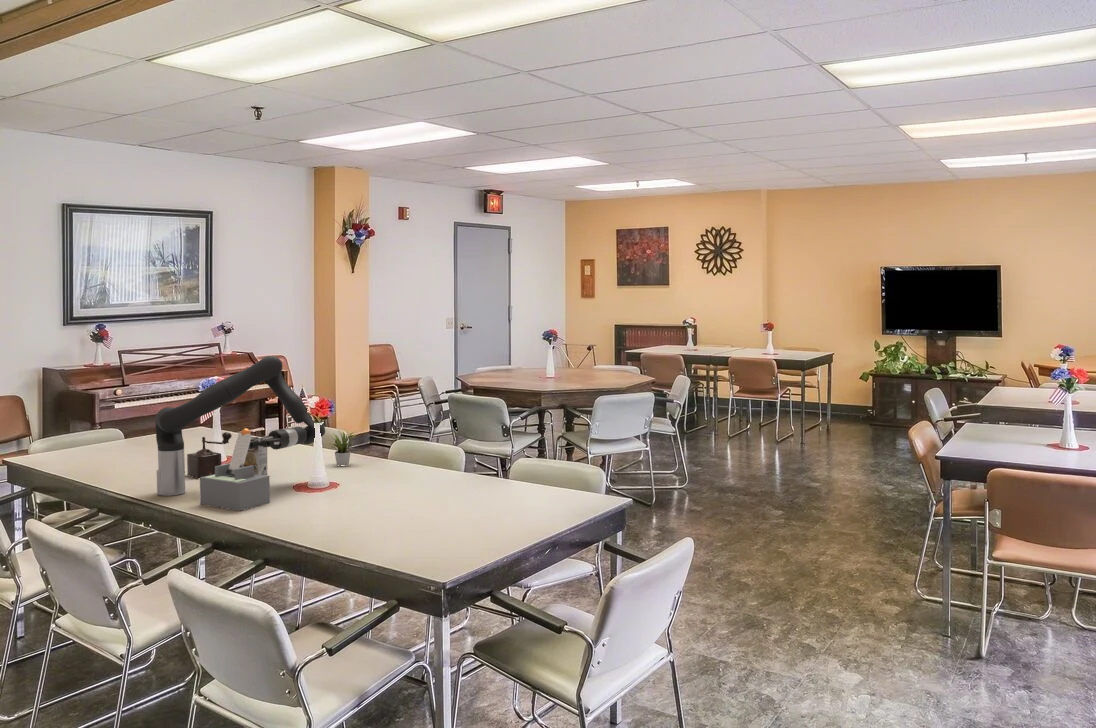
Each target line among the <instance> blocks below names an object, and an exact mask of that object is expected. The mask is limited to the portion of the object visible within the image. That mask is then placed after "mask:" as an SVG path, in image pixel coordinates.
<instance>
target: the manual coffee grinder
mask: <svg viewBox="0 0 1096 728" xmlns="http://www.w3.org/2000/svg"><path fill="white" fill-rule="evenodd" d="M221 436H222V438H223V440H222V441H221V442H220V441H208V440H206V437H205V436H202V438H201V439H202V440H201V442H202V448H201V449H200V450H198V451H196V452H193V453H188V454H186V461H187V462H186V465H187V469H186V470H187V471H186V472H187V476H188V475H190V476H193V477H192V478H194V477H197V478H196V479H198V478H201V477H205V476H209V475H214V474H215V466H219V465H222V454H221V453H220V452H216V451H212V450H211V449H208V448H206V444H214V445H215V444H216V445H227V444H229V443H230V442H229V441H230V439H231V438H232V434H231V433H230V432H228V431H227V432H226V431H225V432H222V434H221ZM190 476H189V477H190Z"/></svg>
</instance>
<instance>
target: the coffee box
mask: <svg viewBox="0 0 1096 728" xmlns="http://www.w3.org/2000/svg"><path fill="white" fill-rule="evenodd" d="M254 437H255V436H252V437H251V441H252V440H253V438H254ZM251 441H250V442H251ZM251 465H254V474H259V475H266V474H269V473H268V447H255V448H248V452H247V455H246V459H245V463H244V466H243V467H246V466H251ZM266 476H267V475H266Z"/></svg>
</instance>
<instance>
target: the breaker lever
mask: <svg viewBox="0 0 1096 728" xmlns="http://www.w3.org/2000/svg"><path fill="white" fill-rule="evenodd" d="M251 437H253V435H252V434H251V430H250V429H249V428H247V427H246V428H243V429H242V430H241V432H238V434H237V438H236V442H235V444H234V448H233V453H232V456H231V459H230V462H229V463H230V466H229V469H227V471H226V474H227V475H232V476H235V469H238V468H242V467H243V466H244V463H245V459H246V455H247V452H248V448H249V444H250V441H251Z"/></svg>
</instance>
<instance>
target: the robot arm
mask: <svg viewBox="0 0 1096 728" xmlns="http://www.w3.org/2000/svg"><path fill="white" fill-rule="evenodd" d="M282 371H283V362H282V361H281V359H280V358H279V357H278V356H275V355H268V356H265V357H263V358H261V359H260V360H258V361H256V362H255V363H254V364H251V366H249V367H247V368H245V369H244V370H241V371H238V372H237V373H234V374H232V375H230V376H228V377H226V378H224V379H221V380H219V381H217V382H216V383H214V384H212V385H210V386H208V387H206V388H205V389H204V390H202V391H201V392H200V393H198V395H196V396H195V397H194V398H192V399H191V400H189V401H187V402H184V403H183V404H181V405H179V406H177V407H172V406H167V407H162V408H161V409H160V410H159V411H158V412H157V413H156V415H155V437H156V444H157V467H158V469H157V470H156V492H157V493H156V494H157V496H164V497H166V496H167V497H168V496H169V497H170V496H180V495H182V494H185V493H186V466H185V441H184V438H183V437H184V436H183V430H182V429H184V428H185V427H187V426H188V425H189V424H191V423H193V422H194V421H195V420H198V419H199V418H201V417H202V416H204V415H207V414H209V413H211V412H214V411H216V410H218V409H219V408H222V407H224V406H226V405H228V404H230V403H232V402H233V401H235V400H236V399H238V398H240V397H241V396H242V395H244V394H245V393H246V392H248V390H250V389H251V388H253V387H254V386H256V385H258V384H261V383H262V382H264V383H265V384H266V385H267V386H268V387H269V388H270V389H271V390H272V391H273V392H274V394H275V395H276V397H277V398H278V400H279V401H280V402H281V404H282V405H283V406H284V408H285V410H286V411H287V413H288V414H289V415H290V417H291V418H292V420H293V422H294V423H296V424H302V423H304V424H305V425H306V427H302V426H295V427H285V428H280V429H274V430H271V431H270V432H269V433H268V435H264V436H262V437H258V436H253V437H254V438H253V440H252V441H251V442H250V444H249V448H255V447H267V448H271V449H273V450H281V449H285V448H290V447H292V446H296V445H311V444H313V443H315V442H314V438H315V428H314V421H313V420H312V417H311V416H310V415H309V414H308V413H307V410H306V408H307V406H306V404H305V403H304V402H303V400H302V399H301V398H300V397H299V395H298V394H297V393H296V392H295V391H293V389H292V388H291V387H290V386H289V384H288V383H287V382H286V380H285V378H284V376H283V374H282ZM320 433H321V438H322V437H323V436H324V435H325V433H326V428H325V424H324V423H322V425H320Z"/></svg>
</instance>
